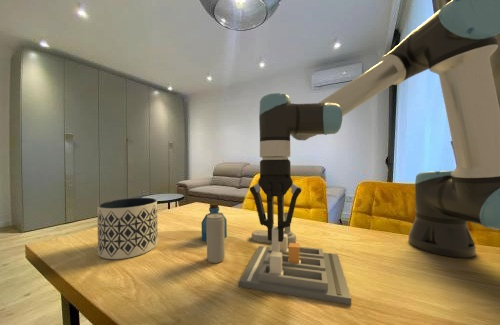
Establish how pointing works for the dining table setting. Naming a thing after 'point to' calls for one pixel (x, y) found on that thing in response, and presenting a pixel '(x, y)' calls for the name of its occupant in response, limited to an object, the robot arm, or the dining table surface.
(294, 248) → the block
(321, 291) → the panel
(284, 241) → the breaker far
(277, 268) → the block
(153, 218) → the planter
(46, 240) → the dining table surface
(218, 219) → the beverage can
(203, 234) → the perfume bottle
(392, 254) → the dining table surface
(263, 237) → the electronic device
